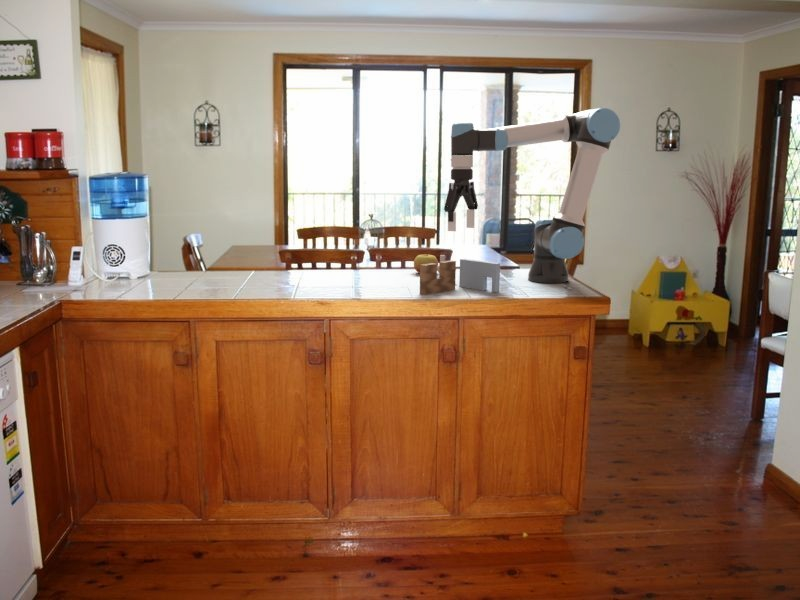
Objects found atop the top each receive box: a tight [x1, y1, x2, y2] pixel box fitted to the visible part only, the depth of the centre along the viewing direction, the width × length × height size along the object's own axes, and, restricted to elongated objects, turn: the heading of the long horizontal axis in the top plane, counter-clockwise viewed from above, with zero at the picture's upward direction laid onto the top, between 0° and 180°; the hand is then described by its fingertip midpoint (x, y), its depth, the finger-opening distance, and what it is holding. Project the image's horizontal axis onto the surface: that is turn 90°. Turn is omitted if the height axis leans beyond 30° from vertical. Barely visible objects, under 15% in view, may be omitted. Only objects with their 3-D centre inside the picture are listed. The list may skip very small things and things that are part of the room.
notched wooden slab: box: [419, 259, 457, 296], centre depth 263 cm, size 16×2×10 cm, turn 136°
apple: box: [413, 253, 439, 274], centre depth 303 cm, size 10×10×8 cm
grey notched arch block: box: [458, 258, 501, 293], centre depth 268 cm, size 16×2×10 cm, turn 46°
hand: (461, 229), depth 267 cm, fingers open, 13 cm apart
